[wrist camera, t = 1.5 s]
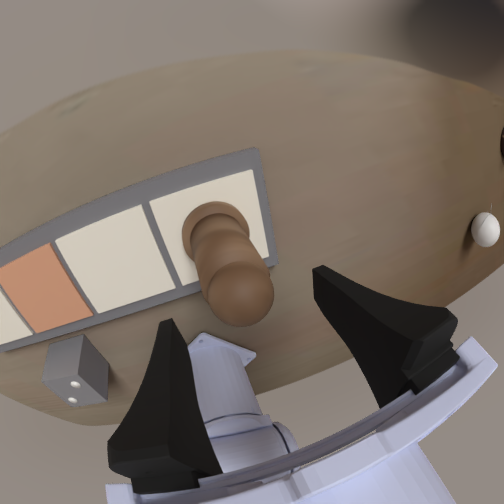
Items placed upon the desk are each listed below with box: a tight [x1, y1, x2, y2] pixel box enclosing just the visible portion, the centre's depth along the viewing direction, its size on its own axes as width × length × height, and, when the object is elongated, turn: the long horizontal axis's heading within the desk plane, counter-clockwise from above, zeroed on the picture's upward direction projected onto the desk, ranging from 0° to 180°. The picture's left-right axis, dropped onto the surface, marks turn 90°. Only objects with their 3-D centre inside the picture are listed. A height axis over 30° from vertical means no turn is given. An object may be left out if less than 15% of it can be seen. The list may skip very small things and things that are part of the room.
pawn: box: [182, 201, 274, 327], centre depth 16 cm, size 5×5×9 cm
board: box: [0, 147, 279, 353], centre depth 19 cm, size 33×10×1 cm, turn 102°
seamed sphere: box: [471, 203, 500, 247], centre depth 31 cm, size 8×6×6 cm
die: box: [41, 334, 109, 407], centre depth 21 cm, size 5×5×5 cm
